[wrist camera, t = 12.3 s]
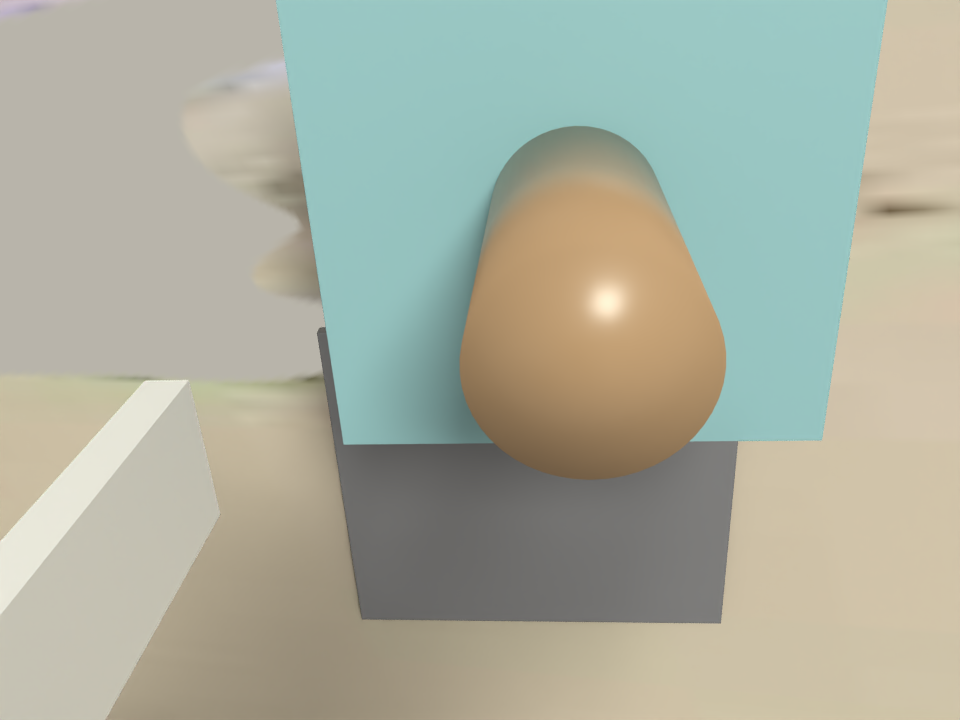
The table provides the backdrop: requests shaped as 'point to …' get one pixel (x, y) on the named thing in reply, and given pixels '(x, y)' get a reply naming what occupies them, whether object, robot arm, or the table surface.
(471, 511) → the mat
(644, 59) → the cover board
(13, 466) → the table surface
